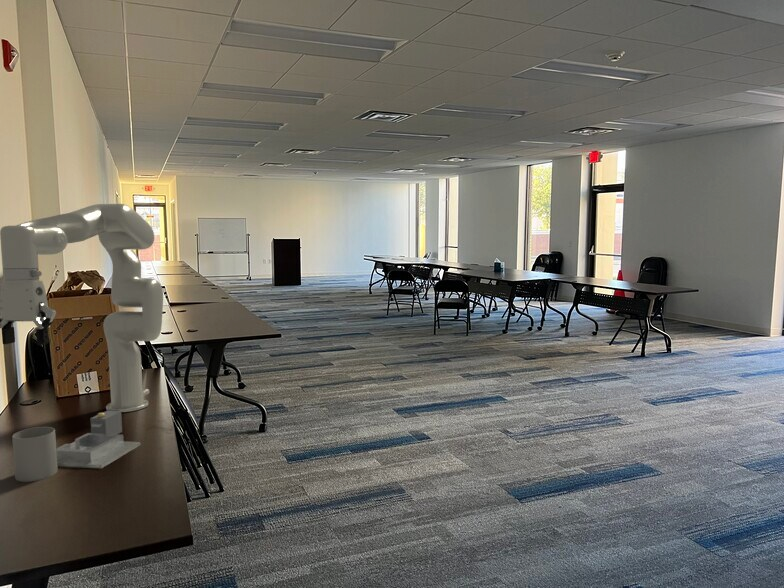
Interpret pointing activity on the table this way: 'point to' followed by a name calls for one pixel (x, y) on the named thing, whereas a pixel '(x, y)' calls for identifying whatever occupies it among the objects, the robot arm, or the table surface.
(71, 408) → the table surface
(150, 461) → the table surface
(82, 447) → the board
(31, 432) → the cup
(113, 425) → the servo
